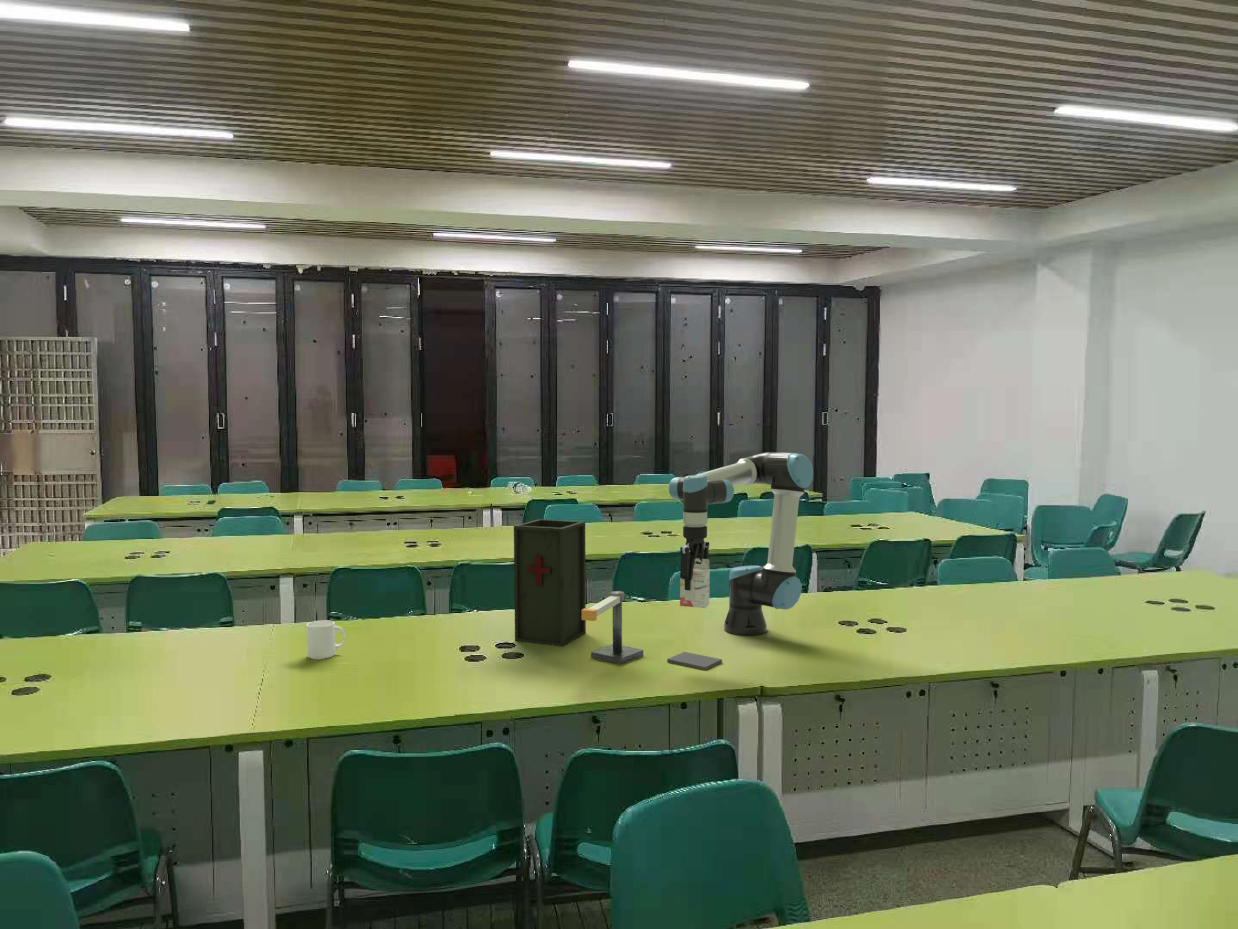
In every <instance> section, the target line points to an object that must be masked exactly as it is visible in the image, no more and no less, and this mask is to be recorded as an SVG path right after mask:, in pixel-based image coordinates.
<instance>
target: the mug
mask: <svg viewBox="0 0 1238 929" xmlns="http://www.w3.org/2000/svg"><path fill="white" fill-rule="evenodd" d="M335 624H336V623H335V621H333V620H328V619H326V620H325V619H321V620H314V621H310V622H308V623H307V624H305V626H306V655H307V657H308V658H309V659H310V658H311V660H325V658H327V659H329V657H330V658H333V657H334V656H335V654H336V651H337V650H339V649H341V648H342V647H343V646H344V644H345V642H346V632H345V631H344V629H343V628H341V627H340V626H338V625H335ZM336 632H340V633H341V634H342V635H343V640H342V642H341V643H339V644H337V643H336Z"/></svg>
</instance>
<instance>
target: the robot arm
mask: <svg viewBox="0 0 1238 929" xmlns="http://www.w3.org/2000/svg"><path fill="white" fill-rule="evenodd" d="M813 480H814V467H813V464H812V462H811V460H810V459H809V458H808V456H806V455H804V454H801V453H795V452H776V451H775V452H773V451H767V452H760V453H758V454H754V455H751V456H747V457H746V456H745V457H743V458H740V459H739V460H738V461H737V462H736V463H733V464H729V465H725V466H722V467H719V468H715V469H711V470H709V471H706V472H705V471H704V472H701V473H698V474H694V475H686V476H685V477H683V476H677V477H673V478H672V479H671V480H670V481H669V484H668V493H669V496H670V497H671V498H672V499H673V500H679V501H682V504H683V506H682V508H683V509H682V511H683V514H682V517H683V519H682V521H683V522H682V523H683V526H682V537H683V538H684V539H685V540H686V541H685V545H684V546H680V547H679V548H680V549H679V550H680V551H679V552H680V572H679V574H680V575H679V578H681V579H684V580H685V600H689V601H693V584H694V580H692V575H693V569H694V564H701V562H702V559H708V560H709V561H710V552H709V551H710V550H709V549H710V542H709V541H705V539H706V538H707V537H708V526H707V524H708V506H709V505H715V504H717V505H718V504H722V505H723V504H725V503H729V502H730V501H732V499H733V498H734V494H735V488H734V487H736V486H739V485H746V486H750V485H754V484H759V485H770V491H771V492H772V493H773V496H774V497H773V504H772V505H773V507H772V517H771V525H770V535H769V544H768V552H767V554H768V555H767V563H766V564H765V565H763V566H761V565H743V566H736V567H735V566H734V567H733V568H731V569H730V572H729V579H728V584H729V585H728V586H729V587H728V589H729V591H728V592H729V594H728V595H729V596H728V597H729V598H728V599H729V600H728V601H729V602H728V603H729V606H728V611H727V615H726V617H725V620H724V625H723V628H724V631H725V632H726V633H730V634H734V635H739V636H741V635H742V636H757V635H762V634H764V633H765V634H766V632H767V630H768V628H767V621H766V618H765V616H764V612H763V606H764V607H769V608H774V609H775V610H780V609H781V610H785V611H786V610H790V609H792V608H793V607H794V606H795V605H796V604H797V603H798V602H799V601H800V600H799V599H800V597H801V596H802V590H803V589H802V583H801V580H800V578H798V577H797V570H796V569H795V567H794V566H793V563H794V554H795V543H796V532H797V523H798V513H799V504H800V498H801V497H802V496H803V495H804V494H805V491H806V490H805V489H806V488H809V487H810V486H811V484H812V482H813ZM696 558H698V559H700V560H701V562H698V561H696V562H695V559H696Z"/></svg>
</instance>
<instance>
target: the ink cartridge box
mask: <svg viewBox="0 0 1238 929" xmlns="http://www.w3.org/2000/svg"><path fill="white" fill-rule="evenodd" d="M696 561H698V562H701V560H700V559H698V558H696V559H695V563H694V569H693V575H692V580H694V584H693V601H689V600H685V580H684V579H681V578H680V577H679V578H680V582H679V583H680V584H679V585H680V586H679V589H680V590H679V606H680V607H687V608H699V609H706V608H708V606H709V605H710V585H711V584H710V580H711V579H710V576H711V574H710V572H711V570H710V559H709V560H708V559H702V562H701V564H696Z"/></svg>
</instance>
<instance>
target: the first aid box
mask: <svg viewBox="0 0 1238 929" xmlns="http://www.w3.org/2000/svg"><path fill="white" fill-rule="evenodd" d="M586 572H587V571H586V521H579V520H578V521H577V520H576V521H575V520H561V519H560V520H557V519H556V520H555V519H541V518H540V519H539V518H538V519H536V520H535V519H534V520H531V521H528V522H524V523H520V524H516V525H513V576H514V578H513V579H514V580H513V587H514V588H513V589H514V590H513V592H514V593H513V595H514V599H513V600H514V642H519V643H528V644H536V645H542V646H543V645H544V646H553V647H562V648H564V647H565V646H567V645H569V644H570V643H572V642H573V641H575V640H577V639H578V638H580V637H582V636H584V635H585V634H587V631H586V630H587V627H586V625H587V622H586V621H587V620H582V609H584V608H585V609H587V608H586V607H587V605H586V604H587V603H586V602H587V601H586V598H587V597H586V592H587V591H586V586H587V584H586V579H587V578H586Z"/></svg>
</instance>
